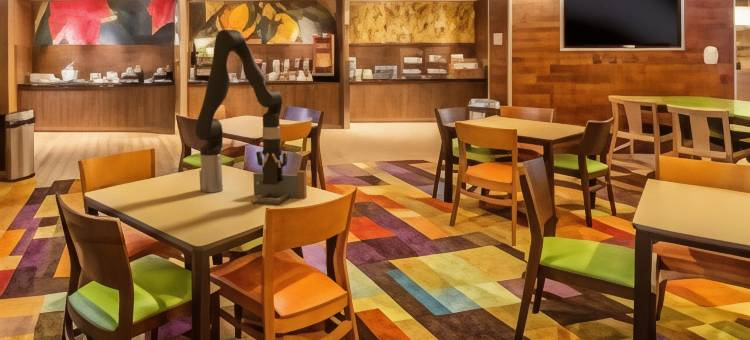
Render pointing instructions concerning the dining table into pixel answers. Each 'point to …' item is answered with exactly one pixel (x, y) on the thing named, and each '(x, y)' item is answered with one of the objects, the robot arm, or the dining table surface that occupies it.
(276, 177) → the phone stand
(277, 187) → the dark grey panel
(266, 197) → the stopper pocket
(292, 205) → the dining table surface
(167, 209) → the dining table surface
